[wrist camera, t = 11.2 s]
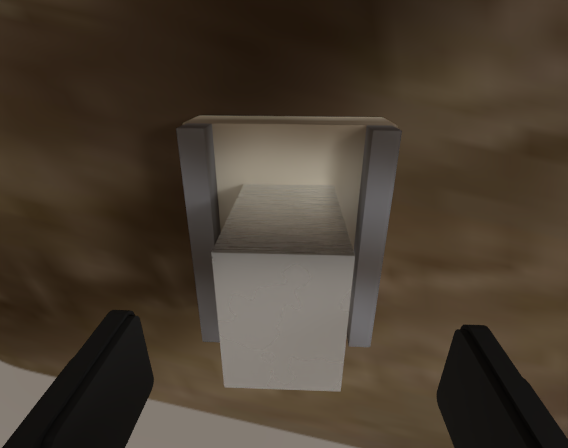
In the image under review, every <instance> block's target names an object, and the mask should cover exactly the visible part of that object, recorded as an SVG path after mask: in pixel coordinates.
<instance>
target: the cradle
mask: <svg viewBox="0 0 568 448" xmlns="http://www.w3.org/2000/svg"><path fill="white" fill-rule="evenodd" d="M176 132H177V140H178V148H179V156H180V164H181V172H182V180H183V188H184V196H185V204H186V212H187V220H188V228H189V236H190V244H191V252H192V260H193V268H194V276H195V284H196V292H197V300H198V308H199V316H200V324H201V332H202V340H203V342H220V337H219V327H218V316H217V306H216V296H215V285H214V275H213V265H212V254H211V252H212V250H213V248H214V246H215V244H216V242H217V239H218V237H219V235H220V233H221V231H222V229H223V227H224V225H225V223H226V220H227V218H228V216H229V214H230V212H231V210H232V208H233V206H234V204H235V201H236V199H237V197H238V195H239V193H240V191H241V189H242V187H243V185H244V184H274V185H333V186H334V189H335V192H336V195H337V199H338V202H339V205H340V208H341V212H342V215H343V218H344V221H345V225H346V228H347V231H348V235H349V238H350V241H351V244H352V248H353V251H354V254H355V261H354V270H353V280H352V289H351V298H350V308H349V317H348V326H347V339H348V344H349V346H355V347H370V344H371V337H372V331H373V324H374V317H375V310H376V304H377V297H378V290H379V283H380V276H381V270H382V263H383V256H384V249H385V242H386V236H387V229H388V222H389V215H390V209H391V202H392V195H393V188H394V181H395V175H396V168H397V161H398V154H399V147H400V141H401V134H402V131H401V130H400V129H398V128H397V125H395V124H394V123H392V122H390V121H388V120H386V119H385V118H383V117H314V116H215V115H199V116H197V117H195V118H193V119H190V120H188V121H186V122H184V123H182V126H180V127H178V128H176Z"/></svg>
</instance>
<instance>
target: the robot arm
mask: <svg viewBox="0 0 568 448" xmlns="http://www.w3.org/2000/svg"><path fill="white" fill-rule="evenodd" d="M153 382H154V377H153V373H152V368H151V364H150V360H149V356H148V352H147V347H146V343H145V339H144V335H143V330H142V326H141V322H140V318H139V317H138V316H135V314H134V312H133V311H126V310H112V311H110V312H109V313H108V314H107V315H106V317H105V318H104V319H103V321H102V322H101V323H100V324H99V326H98V327H97V328H96V330H95V331H94V332H93V334H92V335H91V336H90V337H89V339H88V340H87V341H86V343H85V344H84V345H83V346H82V348H81V349H80V350H79V352H78V353H77V354H76V355H75V357H73V358H72V359H71V360H70V361H69V363H68V364H67V365H66V366H65V368H64V369H63V370H62V372H61V373H60V374H59V375H58V377H57V378H56V379H55V381H54V382H53V383H52V385H51V386H50V387H49V388H48V390H47V391H46V392H45V393H44V395H43V396H42V397H41V399H40V400H39V401H38V402H37V404H36V405H35V406H34V408H33V409H32V410H31V411H30V413H29V414H28V415H27V416H26V418H25V419H24V420H23V422H22V423H21V424H20V425H19V427H18V428H17V429H16V431H15V432H14V433H13V434H12V436H11V437H10V438H9V440H8V441H7V442H6V443H5V445H4V446H3V447H2V448H125V446H126V444H127V442H128V440H129V438H130V436H131V433H132V431H133V429H134V427H135V424H136V423H137V420H138V418H139V416H140V414H141V412H142V410H143V408H144V405H145V403H146V401H147V399H148V397H149V395H150V392H151V390H152V387H153ZM437 402H438V406H439V409H440V411H441V414H442V416H443V419H444V422H445V424H446V427H447V429H448V432H449V435H450V437H451V440H452V442H453V445H454V448H568V439H567V438H566V436H565V435H564V433H563V432H562V430H561V429H560V427H559V426H558V425H557V423H556V422H555V420H554V419H553V417H552V416H551V414H550V413H549V411H548V410H547V409H546V407H545V406H544V404H543V403H542V401H541V400H540V398H539V397H538V396H537V394H536V393H535V391H534V390H533V388H532V387H531V385H530V384H529V383H528V382H527V381H526V380H525V379H524V378H523V377H522V376H521V375H520V373H519V372H518V370H517V369H516V367H515V366H514V365H513V363H512V362H511V360H510V359H509V357H508V356H507V354H506V353H505V351H504V350H503V348H502V347H501V345H500V344H499V343H498V341H497V340H496V338H495V337H494V335H493V334H492V332H491V331H490V329H489V328H488V327H487V326H485V325H463V326H462V327H461V329H460V330H456V331H455V333H454V336H453V340H452V343H451V346H450V350H449V353H448V356H447V360H446V363H445V366H444V370H443V373H442V376H441V380H440V383H439V386H438V390H437Z"/></svg>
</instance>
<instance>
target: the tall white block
mask: <svg viewBox="0 0 568 448" xmlns="http://www.w3.org/2000/svg"><path fill="white" fill-rule="evenodd" d="M211 254H212V265H213V275H214V285H215V296H216V306H217V316H218V327H219V337H220V347H221V358H222V368H223V378H224V387H232V388H260V389H288V390H315V391H341V382H342V373H343V364H344V354H345V345H346V336H347V326H348V317H349V308H350V298H351V289H352V280H353V270H354V261H355V254H354V251H353V248H352V244H351V241H350V238H349V235H348V231H347V228H346V225H345V221H344V218H343V215H342V212H341V208H340V205H339V202H338V199H337V195H336V192H335V189H334V186H333V185H274V184H244V185H243V187H242V189H241V191H240V193H239V195H238V197H237V199H236V201H235V204H234V206H233V208H232V210H231V212H230V214H229V216H228V218H227V220H226V223H225V225H224V227H223V229H222V231H221V233H220V235H219V237H218V239H217V242H216V244H215V246H214V248H213V250H212V252H211Z"/></svg>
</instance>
